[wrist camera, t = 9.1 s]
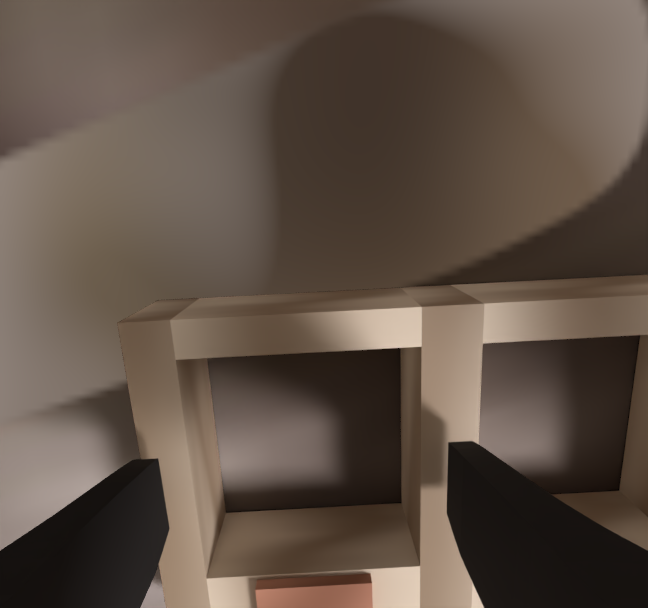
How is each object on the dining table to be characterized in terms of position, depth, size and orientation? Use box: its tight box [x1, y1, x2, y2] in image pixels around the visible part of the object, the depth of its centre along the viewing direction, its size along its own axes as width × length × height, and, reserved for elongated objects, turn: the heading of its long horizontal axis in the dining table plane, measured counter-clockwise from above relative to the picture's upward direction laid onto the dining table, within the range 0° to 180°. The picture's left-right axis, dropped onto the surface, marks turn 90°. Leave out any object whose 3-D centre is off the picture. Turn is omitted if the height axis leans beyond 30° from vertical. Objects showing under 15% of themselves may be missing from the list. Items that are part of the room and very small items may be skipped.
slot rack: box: [117, 275, 648, 608], centre depth 12 cm, size 16×11×3 cm
